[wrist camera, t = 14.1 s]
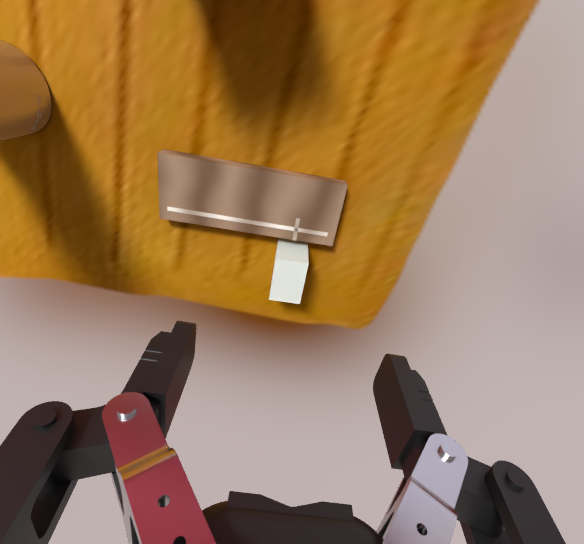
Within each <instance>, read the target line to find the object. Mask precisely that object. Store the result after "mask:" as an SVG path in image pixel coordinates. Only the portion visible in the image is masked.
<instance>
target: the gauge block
mask: <svg viewBox="0 0 584 544" xmlns="http://www.w3.org/2000/svg"><path fill="white" fill-rule="evenodd" d="M308 265H309V260H308V243H307V242H300V241H294V240H288V239H282V238H278V244H277V250H276V256H275V263H274V269H273V275H272V282H271V289H270V296H269V300H275V301H282V302H289V303H295V304H300V301H301V297H302V292H303V288H304V283H305V278H306V274H307V269H308Z"/></svg>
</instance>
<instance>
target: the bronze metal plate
mask: <svg viewBox="0 0 584 544" xmlns="http://www.w3.org/2000/svg"><path fill="white" fill-rule="evenodd" d="M158 177H159V209H160V219H167V220H173V221H179V222H185V223H191V224H198V225H204V226H210V227H216V228H222V229H228V230H235V231H241V232H247V233H253V234H259V235H266V236H272V237H278V238H284V239H290V240H295V241H296V240H297V241H303V242H309V243H315V244H321V245H328V246H333V242H334V238H335V234H336V230H337V226H338V222H339V218H340V214H341V210H342V206H343V202H344V198H345V194H346V190H347V187H348V185H347V183H346V181H343V180H338V179H332V178H326V177H320V176H315V175H309V174H303V173H297V172H292V171H286V170H280V169H275V168H269V167H263V166H257V165H252V164H246V163H240V162H234V161H229V160H223V159H217V158H211V157H206V156H200V155H194V154H189V153H183V152H177V151H171V150H166V149H163V150H161V151H160V152H158Z"/></svg>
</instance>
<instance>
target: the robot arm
mask: <svg viewBox="0 0 584 544" xmlns="http://www.w3.org/2000/svg"><path fill="white" fill-rule="evenodd" d="M51 108H52V103H51V95H50V92H49V88H48V85H47V83H46V81H45V79H44V77H43V75H42V74H41V72H40V71H39V69H38V68H37V66H36V65H35V64H34V63H33V62H32V61H31V59H30V58H29V57H28V56H26V55H25V54H24V53H23V52H22V51H20V50H19V49H17V48H16V47H14V46H12V45H11V44H9V43H6V42H3V41H0V141H1V140H6V139H10V138H15V137H19V136H24V135H28V134H32V133H35V132H38V131H39V130H41V129H42V128H43V127H44V126H45V125H46V124H47V122H48V120H49V118H50V115H51ZM195 339H196V324H195V323H189V322H182V321H177V322H176V324H175V326H174V328H173V330H172V332H171V333H169V332H162V331H161V332H160V333H159V334H157V335H156V336H155V337H154V338H152V339H151V341H150V342H149V344H148V346H147V348H146V350H145V352H144V353H143V355H142V357H141V360H140V361H139V363H138V365H137V366H136V368H135V370H134V372H133V373H132V375H131V377H130V379H129V381H128V382H127V384H126V386H125V388H124V390H123V391H122V393H121V394H120V395H117V396H116V397H114V398H112V399H111V400H110V401H109V402H108V403H107V404H106V405H104V406H101V407H97V408H91V409H85V410H77V411H72V409H71V407H70V406H69V405H67V404H66V403H63V402H58V401H52V402H46V403H42V404H40V405H37V406H35V407H33V408H32V409H30V410H29V411H27V412H26V413H25V414H24V415H23V416H22V417H21V418H20V419H19V421H18V422H17V424H16V425H15V426H14V428H13V429H12V430H11V432H10V433H9V435H8V436H7V437H6V439H5V440H4V442H3V443H2V444H1V446H0V544H48V542H49V540H50V538H51V536H52V534H53V532H54V530H55V528H56V525H57V523H58V521H59V519H60V517H61V515H62V513H63V511H64V508H65V506H66V504H67V502H68V500H69V498H70V496H71V494H72V492H73V489H74V488H75V485H76V483H77V481H78V479H82V478H87V477H92V476H97V475H101V474H106V473H111V477H112V480H113V484H114V487H115V491H116V494H117V498H118V501H119V505H120V509H121V512H122V516H123V519H124V524H125V528H126V533H127V538H128V542H129V544H450V541H451V537H452V534H453V531H454V527H455V523H456V520H459V521H460V523H461V526H462V530H463V533H464V536H465V539H466V542H467V544H566V543H565V542H564V540H563V538H562V536H561V534H560V532H559V530H558V528H557V527H556V525H555V523H554V521H553V519H552V517H551V515H550V513H549V511H548V509H547V508H546V506H545V504H544V502H543V500H542V498H541V496H540V494H539V493H538V491H537V489H536V487H535V485H534V483H533V482H532V480H531V479H530V477H529V476H528V475H527V474H526V473H525V472H524V471H523V470H522V469H520V468H519V467H517V466H516V465H514V464H512V463H510V462H507V461H497V462H496V463H494V464H493V466H492V467H490V466H488V465H486V464H483V463H481V462H479V461H476V460H474V459H472V458H470V457H468V456H467V455H466V453H465V451H464V449H463V448H462V447H461V446H460V445H459V443H457V442H456V441H455V440H454V439H452V438H450V437H449V436H447V434H446V432H445V429H444V426H443V424H442V422H441V419H440V417H439V414H438V412H437V410H436V407H435V405H434V403H433V400H432V398H431V395H430V394H429V391H428V388H427V386H426V383H425V381H424V380H423V378H422V377H421V376H420V375H419V374H418V372H416V370H411V369H410V367H409V364H408V362H407V359H406V358H405V357H404V356H398V355H393V354H386V355H385V357H384V358H383V361H382V363H381V365H380V368H379V370H378V372H377V374H376V376H375V379H374V383H373V392H374V397H375V401H376V405H377V409H378V414H379V417H380V422H381V426H382V430H383V434H384V438H385V442H386V447H387V451H388V455H389V459H390V463H391V467H392V468H394V469H401V470H403V473H404V478H403V479H402V481H401V483H400V485H399V487H398V489H397V491H396V493H395V495H394V497H393V499H392V502H391V504H390V506H389V508H388V510H387V512H386V514H385V516H384V518H383V520H382V522H381V524H380V525H379V527H378V529H377V531H375V530H374V529H372V528H371V527H370V526H369V525H367V524H366V523H365V522H363V521H361V520H360V519H358V518H356V517H354V516H353V512H352V505H347V504H339V503H329V502H318V503H313V504H308V505H302V506H297V507H289V506H287V505H284V504H282V503H279V502H277V501H274V500H272V499H270V498H267V497H265V496H262V495H260V494H251V493H242V492H234V491H230V492H229V498H228V501H224V502H220V503H217V504H214V505H212V506H210V507H208V508H205V509H204V510H201V508H200V506H199V503H198V501H197V499H196V496H195V495H194V492H193V490H192V487H191V485H190V483H189V481H188V478H187V476H186V474H185V471H184V469H183V467H182V464H181V462H180V460H179V458H178V455H177V453H176V452H175V450H174V449H173V448H171V449H170V448H169V446H168V445H167V442H166V440H165V439H166V436H167V433H168V430H169V428H170V425H171V422H172V419H173V416H174V413H175V411H176V408H177V405H178V402H179V399H180V397H181V394H182V391H183V388H184V386H185V383H186V380H187V377H188V375H189V372H190V369H191V366H192V363H193V359H194V353H195Z"/></svg>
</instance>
